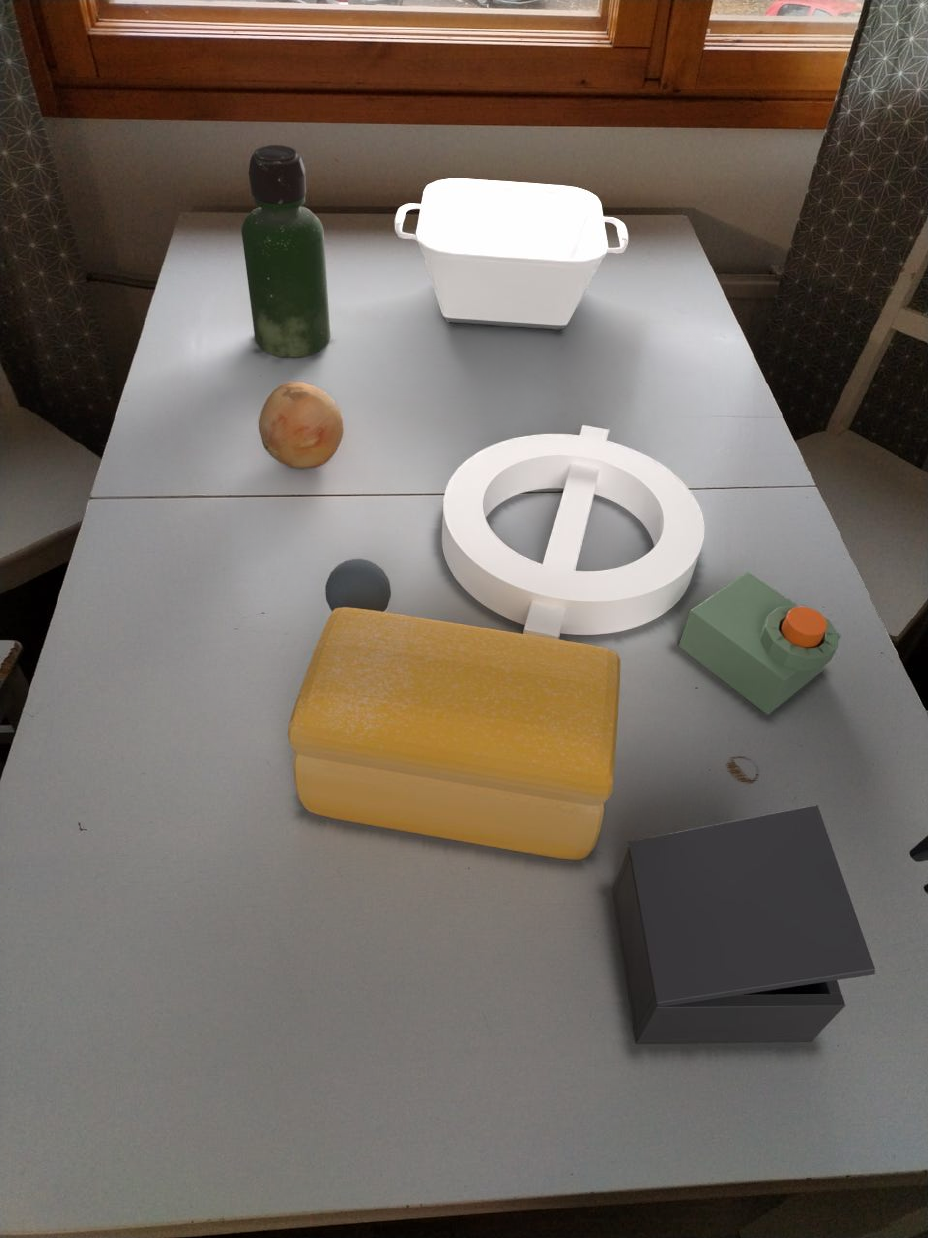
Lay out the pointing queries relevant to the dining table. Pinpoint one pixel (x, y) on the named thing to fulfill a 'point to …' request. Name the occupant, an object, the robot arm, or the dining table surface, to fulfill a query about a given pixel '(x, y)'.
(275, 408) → the orange-brown rounded lump
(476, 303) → the tub
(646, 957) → the charcoal lidded box
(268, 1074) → the dining table surface
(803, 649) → the control block
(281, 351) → the green bottle
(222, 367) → the dining table surface
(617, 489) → the white circle with bar
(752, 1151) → the dining table surface
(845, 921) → the fryer lid
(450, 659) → the bread
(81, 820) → the dining table surface
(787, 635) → the button
